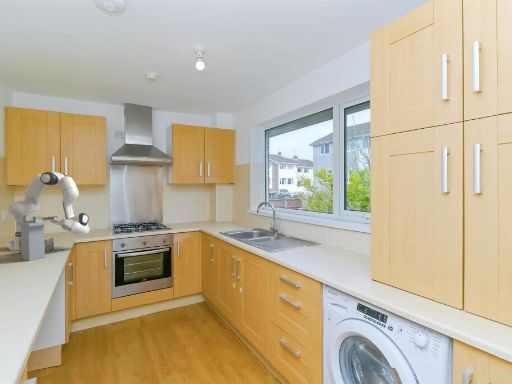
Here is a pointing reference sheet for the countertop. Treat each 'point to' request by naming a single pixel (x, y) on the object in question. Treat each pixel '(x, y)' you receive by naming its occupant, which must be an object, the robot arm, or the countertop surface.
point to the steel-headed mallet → (30, 217)
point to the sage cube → (37, 219)
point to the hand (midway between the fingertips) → (51, 217)
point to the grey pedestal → (32, 240)
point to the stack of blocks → (47, 242)
